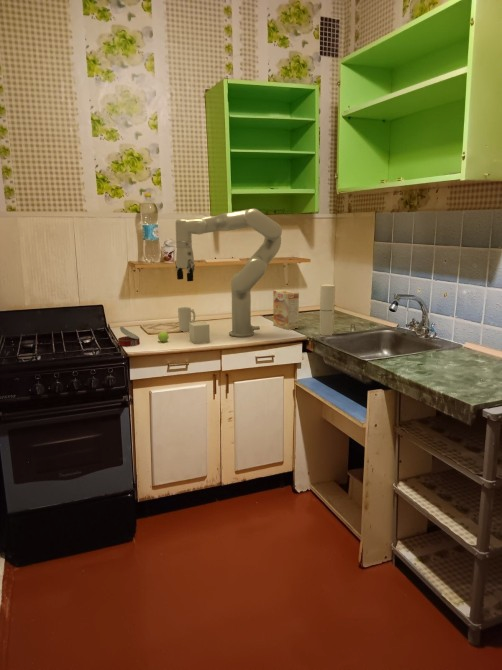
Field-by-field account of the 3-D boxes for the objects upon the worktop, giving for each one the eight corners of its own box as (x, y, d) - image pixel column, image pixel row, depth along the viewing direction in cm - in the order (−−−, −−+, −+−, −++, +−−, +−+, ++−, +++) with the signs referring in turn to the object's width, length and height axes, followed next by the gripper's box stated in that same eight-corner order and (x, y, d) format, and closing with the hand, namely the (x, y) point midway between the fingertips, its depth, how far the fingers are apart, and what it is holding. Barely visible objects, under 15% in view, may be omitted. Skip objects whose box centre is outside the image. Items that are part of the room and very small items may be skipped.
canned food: (127, 351, 248) (132, 331, 250) (142, 352, 242) (147, 332, 244) (109, 344, 239) (115, 324, 242) (124, 345, 233) (129, 324, 236)
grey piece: (204, 339, 251) (204, 321, 249) (209, 342, 244) (209, 324, 242) (189, 340, 248) (189, 322, 246) (194, 344, 241) (193, 325, 239)
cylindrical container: (316, 333, 263) (317, 284, 257) (328, 332, 265) (330, 283, 260) (323, 336, 256) (325, 286, 251) (336, 334, 259) (337, 285, 253)
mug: (183, 332, 266) (182, 309, 264) (176, 330, 271) (175, 308, 269) (199, 329, 273) (198, 307, 270) (192, 327, 278) (191, 306, 275)
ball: (167, 340, 250) (166, 330, 249) (169, 342, 245) (169, 332, 244) (157, 341, 248) (156, 331, 247) (159, 343, 243) (159, 333, 242)
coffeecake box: (272, 325, 283) (272, 290, 279) (283, 323, 287) (283, 289, 282) (287, 330, 271) (288, 293, 266) (298, 328, 274) (299, 292, 270)
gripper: (199, 245, 244) (200, 281, 248) (182, 244, 258) (183, 278, 261) (186, 246, 240) (187, 282, 244) (168, 244, 253) (170, 279, 257)
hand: (185, 280), depth 253 cm, fingers open, 9 cm apart
